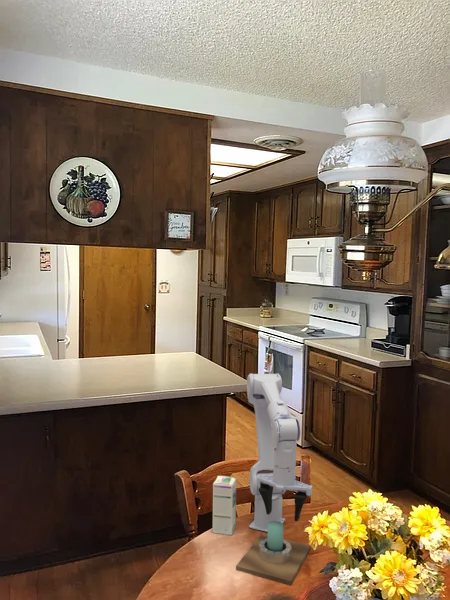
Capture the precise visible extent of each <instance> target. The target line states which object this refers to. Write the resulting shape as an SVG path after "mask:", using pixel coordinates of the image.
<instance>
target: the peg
mask: <svg viewBox="0 0 450 600" xmlns="http://www.w3.org/2000/svg"><path fill="white" fill-rule="evenodd" d="M266 535H267V549H268V550H270V551H274V552H281V551H283V539H284V523H283V524H282V523H281V522H278V521H272V522H269V523H268V532H267V534H266Z"/></svg>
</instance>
